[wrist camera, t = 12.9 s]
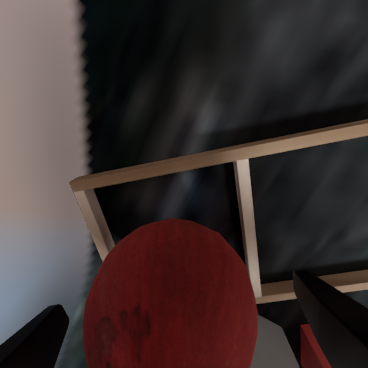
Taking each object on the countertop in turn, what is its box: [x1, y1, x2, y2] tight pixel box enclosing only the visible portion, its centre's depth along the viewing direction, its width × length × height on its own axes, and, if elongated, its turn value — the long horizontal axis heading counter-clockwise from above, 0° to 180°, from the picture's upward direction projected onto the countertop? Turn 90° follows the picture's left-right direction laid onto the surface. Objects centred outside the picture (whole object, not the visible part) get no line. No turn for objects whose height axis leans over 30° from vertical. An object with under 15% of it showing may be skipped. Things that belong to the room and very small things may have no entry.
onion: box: [83, 218, 258, 368], centre depth 7 cm, size 6×6×8 cm
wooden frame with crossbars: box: [70, 119, 368, 304], centre depth 10 cm, size 9×23×1 cm, turn 102°
